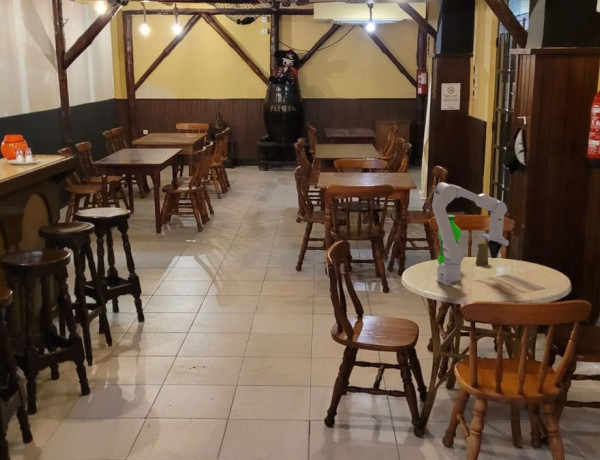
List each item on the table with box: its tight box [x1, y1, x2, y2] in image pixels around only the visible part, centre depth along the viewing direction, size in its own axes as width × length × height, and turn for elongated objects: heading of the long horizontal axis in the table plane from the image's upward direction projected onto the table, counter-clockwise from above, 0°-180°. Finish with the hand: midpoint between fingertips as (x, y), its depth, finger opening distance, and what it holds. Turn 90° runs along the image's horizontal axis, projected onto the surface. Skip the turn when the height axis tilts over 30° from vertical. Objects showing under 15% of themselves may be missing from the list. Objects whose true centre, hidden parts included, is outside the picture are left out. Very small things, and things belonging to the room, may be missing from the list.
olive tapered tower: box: [475, 241, 489, 267], centre depth 318 cm, size 6×6×11 cm
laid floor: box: [470, 276, 531, 297], centre depth 284 cm, size 14×22×2 cm, turn 26°
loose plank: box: [495, 273, 546, 292], centre depth 289 cm, size 7×22×2 cm, turn 26°
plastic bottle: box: [437, 214, 462, 266], centre depth 312 cm, size 10×10×25 cm
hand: (493, 257), depth 294 cm, fingers closed
